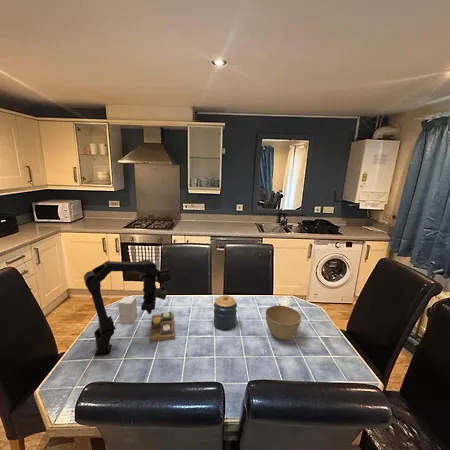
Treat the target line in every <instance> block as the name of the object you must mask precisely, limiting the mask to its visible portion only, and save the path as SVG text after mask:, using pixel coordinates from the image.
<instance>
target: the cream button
mask: <svg viewBox="0 0 450 450" xmlns="http://www.w3.org/2000/svg"><path fill="white" fill-rule="evenodd" d="M168 330H170V325H164V326H163V331H168Z"/></svg>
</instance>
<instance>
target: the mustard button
mask: <svg viewBox="0 0 450 450" xmlns="http://www.w3.org/2000/svg"><path fill="white" fill-rule="evenodd" d="M160 323H161V322H160V317H154V318H153V324H154V325H159V324H160Z"/></svg>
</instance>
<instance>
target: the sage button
mask: <svg viewBox="0 0 450 450" xmlns="http://www.w3.org/2000/svg"><path fill="white" fill-rule="evenodd" d="M168 312H169V311H167V312H166V313H165V312H163V313H164V314H163V318H167V317H170V313H168Z"/></svg>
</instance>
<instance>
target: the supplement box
mask: <svg viewBox="0 0 450 450" xmlns="http://www.w3.org/2000/svg"><path fill="white" fill-rule="evenodd" d="M117 305H118V314H119V315H118V316H119V318H118V319H119V324H127V325H133V324H134V323H135V321H136V320H137V318H138V307H137V305H138V304H137V297H136V296H124V297H122V298H121V300H119V302H118V303H117Z"/></svg>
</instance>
